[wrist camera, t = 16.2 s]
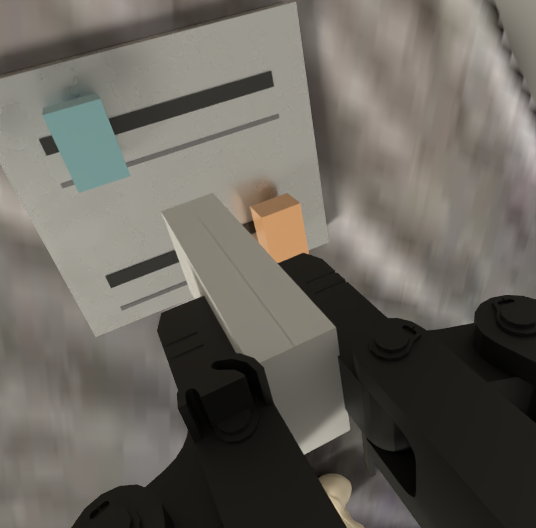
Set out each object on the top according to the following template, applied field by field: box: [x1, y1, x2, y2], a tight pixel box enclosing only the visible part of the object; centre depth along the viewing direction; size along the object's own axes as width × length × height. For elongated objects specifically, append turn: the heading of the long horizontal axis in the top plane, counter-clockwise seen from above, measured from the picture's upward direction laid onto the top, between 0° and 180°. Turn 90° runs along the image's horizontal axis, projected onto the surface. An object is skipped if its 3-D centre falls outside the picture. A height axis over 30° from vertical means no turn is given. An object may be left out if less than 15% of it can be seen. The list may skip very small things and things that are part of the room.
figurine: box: [318, 474, 365, 528], centre depth 53 cm, size 14×9×20 cm
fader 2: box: [250, 193, 309, 263], centre depth 33 cm, size 3×4×3 cm
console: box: [0, 2, 329, 337], centre depth 32 cm, size 20×18×2 cm
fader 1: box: [42, 93, 130, 193], centre depth 26 cm, size 3×4×3 cm
